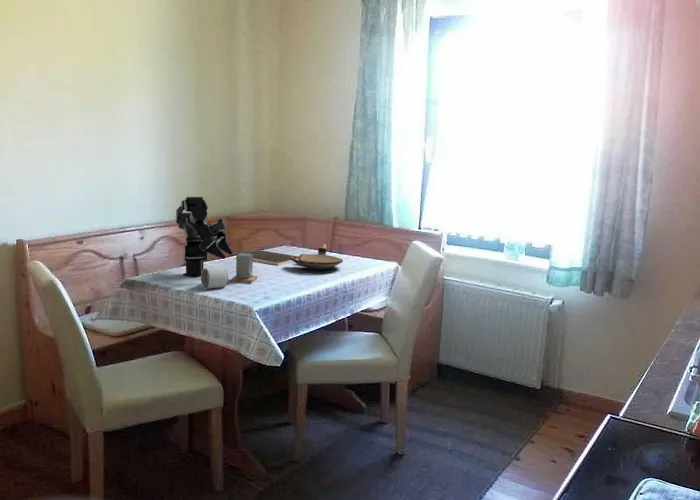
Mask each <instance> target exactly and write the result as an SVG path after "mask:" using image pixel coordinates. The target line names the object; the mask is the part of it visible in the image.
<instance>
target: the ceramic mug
mask: <svg viewBox="0 0 700 500" xmlns="http://www.w3.org/2000/svg"><path fill="white" fill-rule="evenodd" d="M227 271H228V270H226V269H225V268H222V267H211V268H210V267H205V268H204V267H203V271H202V273H201V276H200V280H201V285H202V287H203V289H204V288H205V289H204V290H212V289H220V288H222V289H223V288H224V287H226V286H227V285H228V282H229V274H228V272H227Z"/></svg>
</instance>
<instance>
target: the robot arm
mask: <svg viewBox="0 0 700 500" xmlns="http://www.w3.org/2000/svg"><path fill="white" fill-rule="evenodd" d="M205 200H206V199H204V197H203V196H186V197H185V198H184V199H183V200H181V203H180V206H179V207H178V208H177V209H176V211H175V223H176V224H177V227H178V229H181V230H183V234H184V237H185V244H184V245H183V251H182V260H183V261H184V262H185V272H184V273H182V275H183V276H188V277H193V278H196V277H201V273H202V271H203V269H204V261H207V260H208V254H211V255H212V256H215V257H218V258H220V259H222V260H225V259H226V258H227V257H226V255H225V254H224V252H225V253H226V254H228V255H230V256H231V255H233V250H232V249H231V247H230V245H229V243H228V241H227V240H228V232H227V231H226V230H225V229H227V228H229V226H228V221H227V220H226V219H224V218H220V219H217V222H216V223H212V222H207V221H206V218H207V216H208V211H207V210H208V209H209V208H208V207H209V206H208V204H207V202H206V201H205ZM184 211H185V212H184Z"/></svg>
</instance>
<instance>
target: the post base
mask: <svg viewBox="0 0 700 500" xmlns="http://www.w3.org/2000/svg"><path fill="white" fill-rule="evenodd" d="M230 279H231V280H230V282H231V283H239V284H240V283H244V284H252V283H254V282H255V281H256V280H257V279H258V275H253V274H252V277H251V278H250V279H240V278H236V275H234V276H233V277H232V278H230Z"/></svg>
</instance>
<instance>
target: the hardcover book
mask: <svg viewBox="0 0 700 500" xmlns="http://www.w3.org/2000/svg"><path fill="white" fill-rule="evenodd" d="M247 253H248V254H253V262H257V263H263V264H267V265H274V266H282V265H286V264H290V263H294V262H293V261H292V260H291V259H290V256H291V257H292V258H294V259H296V260H299V259H298V258H297V256H298V255H292V254H286V253H285V254H284V253H280V252H274V251H268V250H261V249H257V250H253V251H249V252H247Z"/></svg>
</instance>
